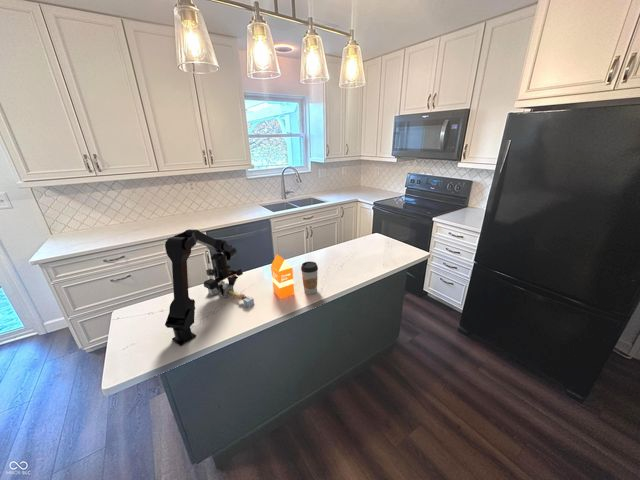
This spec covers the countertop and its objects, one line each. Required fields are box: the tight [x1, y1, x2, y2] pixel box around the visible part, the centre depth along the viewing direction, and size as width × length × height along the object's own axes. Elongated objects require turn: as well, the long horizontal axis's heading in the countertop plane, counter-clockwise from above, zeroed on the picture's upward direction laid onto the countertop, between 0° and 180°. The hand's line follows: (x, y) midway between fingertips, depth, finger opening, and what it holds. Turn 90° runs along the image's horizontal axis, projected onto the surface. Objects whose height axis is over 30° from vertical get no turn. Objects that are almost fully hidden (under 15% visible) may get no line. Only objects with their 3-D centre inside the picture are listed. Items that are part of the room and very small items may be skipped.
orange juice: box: [270, 254, 295, 300], centre depth 127 cm, size 8×9×20 cm
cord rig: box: [207, 280, 255, 309], centre depth 127 cm, size 28×8×5 cm, turn 56°
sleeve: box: [218, 282, 235, 298], centre depth 129 cm, size 5×5×4 cm
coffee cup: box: [300, 261, 319, 295], centre depth 128 cm, size 8×8×15 cm
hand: (226, 292), depth 130 cm, fingers closed on sleeve, 5 cm apart
